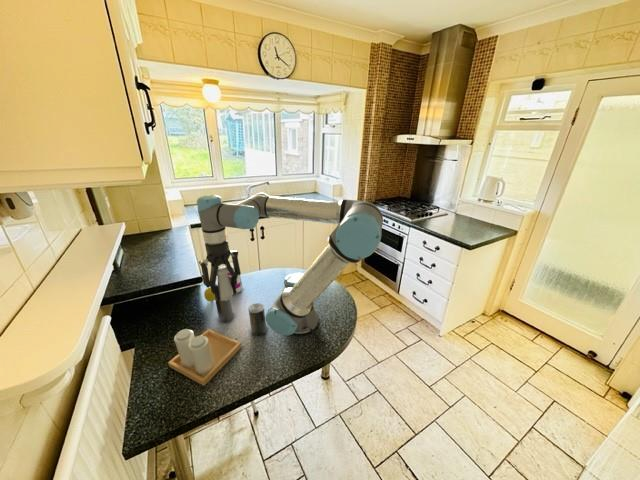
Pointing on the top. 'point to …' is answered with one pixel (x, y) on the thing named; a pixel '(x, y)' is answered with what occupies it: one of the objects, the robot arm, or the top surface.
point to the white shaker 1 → (184, 347)
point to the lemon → (209, 295)
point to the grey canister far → (224, 310)
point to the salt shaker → (224, 284)
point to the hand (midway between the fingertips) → (226, 295)
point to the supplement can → (239, 283)
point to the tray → (220, 352)
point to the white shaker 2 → (201, 355)
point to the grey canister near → (257, 319)
